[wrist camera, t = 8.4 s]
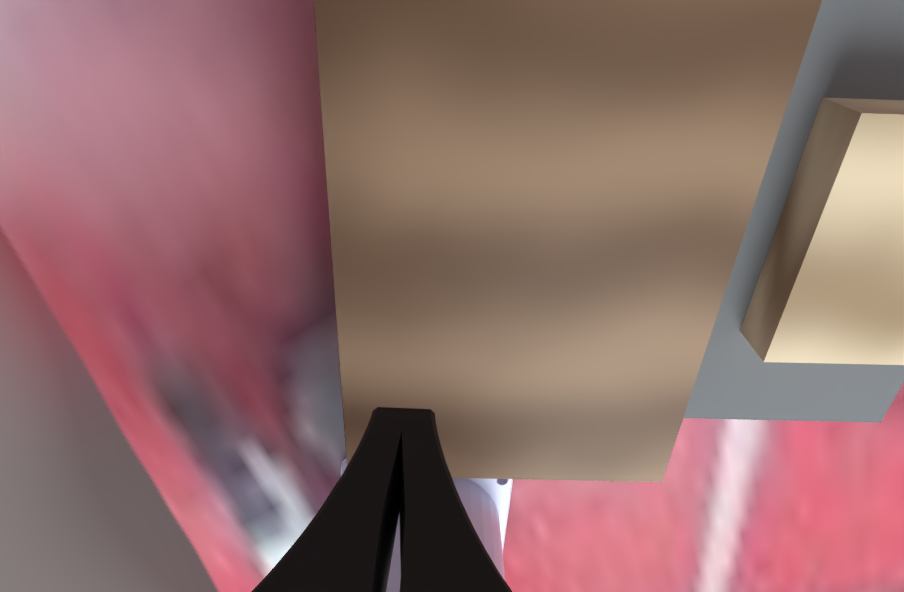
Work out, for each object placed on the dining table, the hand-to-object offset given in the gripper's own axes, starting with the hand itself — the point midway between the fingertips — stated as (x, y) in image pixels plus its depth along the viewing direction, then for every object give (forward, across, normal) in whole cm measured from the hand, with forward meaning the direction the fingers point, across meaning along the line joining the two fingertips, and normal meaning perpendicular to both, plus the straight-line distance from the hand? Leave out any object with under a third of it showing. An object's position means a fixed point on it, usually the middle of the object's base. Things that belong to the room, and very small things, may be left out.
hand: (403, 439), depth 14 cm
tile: (+7, -16, -2) cm, 17 cm away
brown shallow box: (+9, -4, -2) cm, 10 cm away
